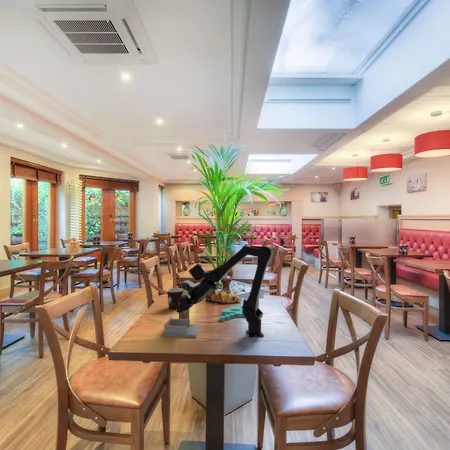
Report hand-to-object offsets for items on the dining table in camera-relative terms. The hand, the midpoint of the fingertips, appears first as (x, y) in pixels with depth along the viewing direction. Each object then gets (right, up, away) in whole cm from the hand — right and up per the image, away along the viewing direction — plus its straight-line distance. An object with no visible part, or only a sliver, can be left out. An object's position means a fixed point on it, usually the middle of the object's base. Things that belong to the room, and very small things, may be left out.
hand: (181, 309), depth 136 cm
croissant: (+20, -7, +37) cm, 43 cm away
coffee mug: (-7, -6, +22) cm, 24 cm away
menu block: (+1, -7, 0) cm, 7 cm away
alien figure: (+29, -8, +13) cm, 33 cm away
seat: (+2, -7, -10) cm, 13 cm away
